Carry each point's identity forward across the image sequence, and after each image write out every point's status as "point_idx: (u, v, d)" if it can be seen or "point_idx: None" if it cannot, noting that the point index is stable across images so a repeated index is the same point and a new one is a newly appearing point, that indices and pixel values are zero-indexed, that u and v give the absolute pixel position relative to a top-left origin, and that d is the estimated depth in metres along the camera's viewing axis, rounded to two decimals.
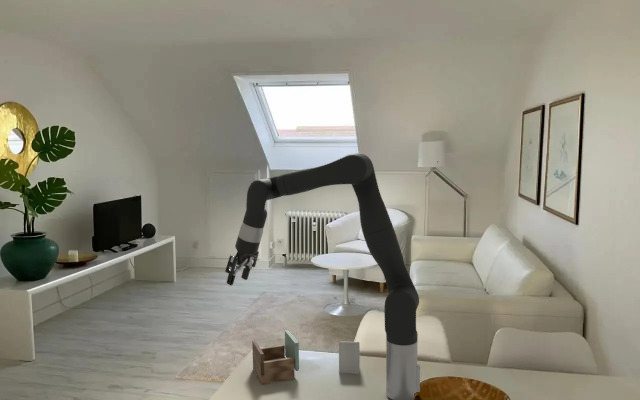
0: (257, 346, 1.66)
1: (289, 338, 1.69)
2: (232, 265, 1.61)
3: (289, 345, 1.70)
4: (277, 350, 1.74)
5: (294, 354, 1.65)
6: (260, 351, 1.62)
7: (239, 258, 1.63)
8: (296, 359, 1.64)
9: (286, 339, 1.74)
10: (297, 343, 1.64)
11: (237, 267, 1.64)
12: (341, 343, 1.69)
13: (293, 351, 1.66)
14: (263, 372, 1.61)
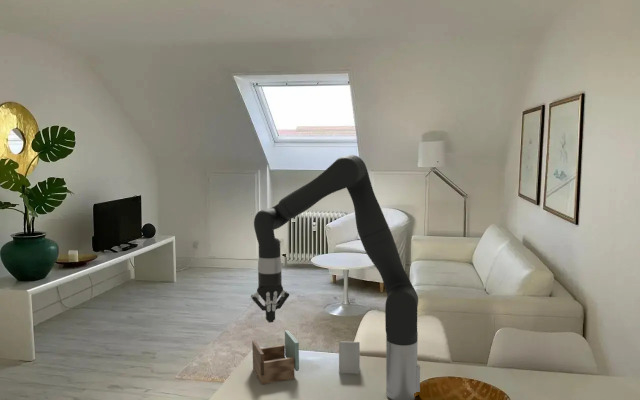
0: (257, 346, 1.66)
1: (289, 338, 1.69)
2: None
3: (289, 345, 1.70)
4: (277, 350, 1.74)
5: (294, 354, 1.65)
6: (260, 351, 1.62)
7: (259, 293, 1.63)
8: (296, 359, 1.64)
9: (286, 339, 1.74)
10: (297, 343, 1.64)
11: (266, 304, 1.64)
12: (341, 343, 1.69)
13: (293, 351, 1.66)
14: (263, 372, 1.61)
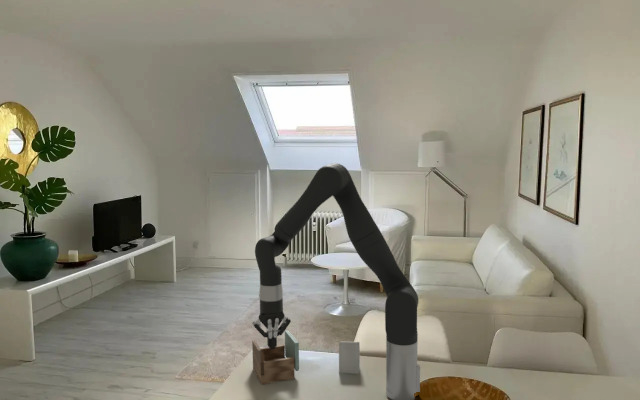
0: (257, 346, 1.66)
1: (289, 338, 1.69)
2: None
3: (289, 345, 1.70)
4: (277, 350, 1.74)
5: (294, 354, 1.65)
6: (260, 351, 1.62)
7: (260, 320, 1.64)
8: (296, 359, 1.64)
9: (286, 339, 1.74)
10: (297, 343, 1.64)
11: (267, 330, 1.65)
12: (341, 343, 1.69)
13: (293, 351, 1.66)
14: (263, 372, 1.61)
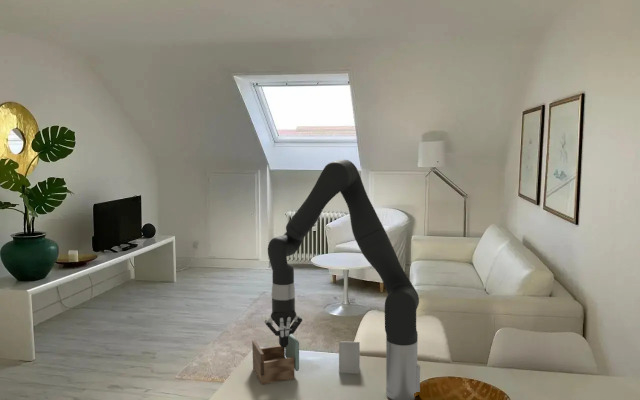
0: (257, 346, 1.66)
1: (290, 338, 1.69)
2: (270, 329, 1.66)
3: (289, 345, 1.70)
4: (277, 350, 1.74)
5: (294, 354, 1.65)
6: (260, 351, 1.62)
7: (273, 319, 1.65)
8: (296, 359, 1.64)
9: None
10: (297, 343, 1.64)
11: (279, 329, 1.66)
12: (341, 343, 1.69)
13: (293, 351, 1.66)
14: (263, 372, 1.61)
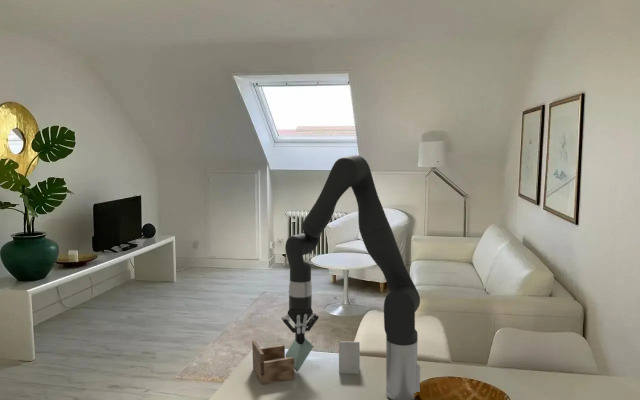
0: (257, 346, 1.66)
1: None
2: (287, 326, 1.68)
3: (299, 346, 1.71)
4: (277, 350, 1.74)
5: (302, 354, 1.66)
6: (260, 351, 1.62)
7: (290, 316, 1.68)
8: (302, 360, 1.65)
9: None
10: (312, 346, 1.66)
11: (296, 326, 1.69)
12: (341, 343, 1.69)
13: (302, 351, 1.67)
14: (263, 372, 1.61)
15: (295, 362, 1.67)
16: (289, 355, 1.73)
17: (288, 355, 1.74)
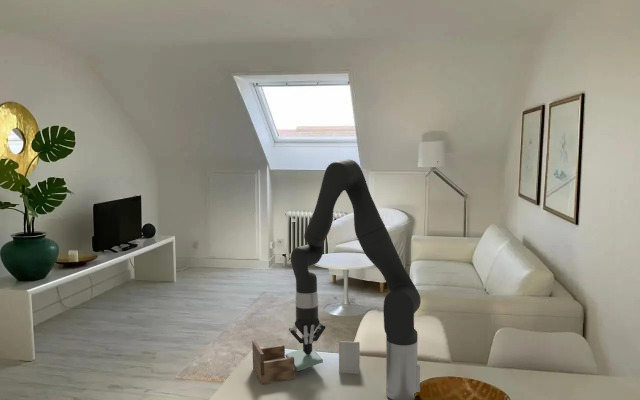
0: (257, 346, 1.66)
1: (315, 352, 1.73)
2: None
3: None
4: (277, 350, 1.74)
5: (309, 361, 1.67)
6: (260, 351, 1.62)
7: (297, 327, 1.69)
8: (306, 365, 1.66)
9: None
10: (322, 361, 1.68)
11: (303, 336, 1.70)
12: (341, 343, 1.69)
13: (310, 360, 1.68)
14: (263, 372, 1.61)
15: (297, 363, 1.67)
16: (291, 356, 1.73)
17: (290, 355, 1.74)
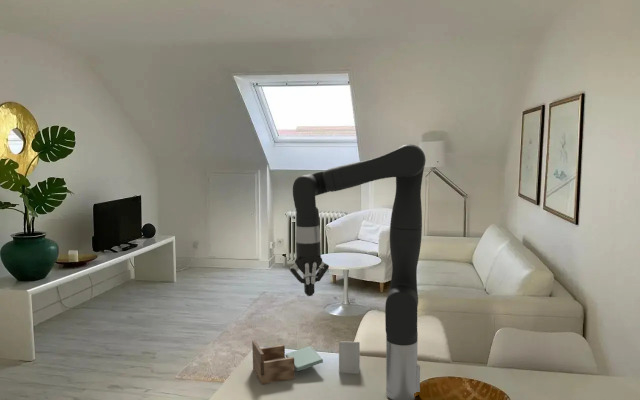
0: (257, 346, 1.66)
1: (315, 352, 1.73)
2: (295, 276, 1.54)
3: (306, 354, 1.73)
4: (277, 350, 1.74)
5: (309, 361, 1.67)
6: (260, 351, 1.62)
7: (297, 265, 1.54)
8: (306, 365, 1.66)
9: (304, 349, 1.76)
10: (322, 361, 1.68)
11: (305, 276, 1.55)
12: (341, 343, 1.69)
13: (310, 360, 1.68)
14: (263, 372, 1.61)
15: (297, 363, 1.67)
16: (291, 356, 1.73)
17: (290, 355, 1.74)
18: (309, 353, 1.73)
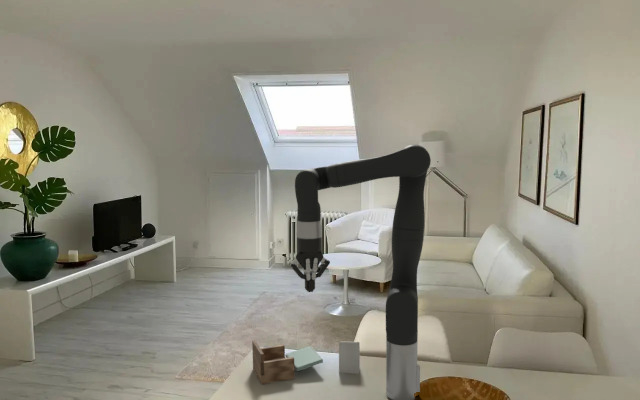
0: (257, 346, 1.66)
1: (315, 352, 1.73)
2: (295, 271, 1.52)
3: (306, 354, 1.73)
4: (277, 350, 1.74)
5: (309, 361, 1.67)
6: (260, 351, 1.62)
7: (298, 260, 1.52)
8: (306, 365, 1.66)
9: (304, 349, 1.76)
10: (322, 361, 1.68)
11: (305, 271, 1.53)
12: (341, 343, 1.69)
13: (310, 360, 1.68)
14: (263, 372, 1.61)
15: (297, 363, 1.67)
16: (291, 356, 1.73)
17: (290, 355, 1.74)
18: (309, 353, 1.73)
